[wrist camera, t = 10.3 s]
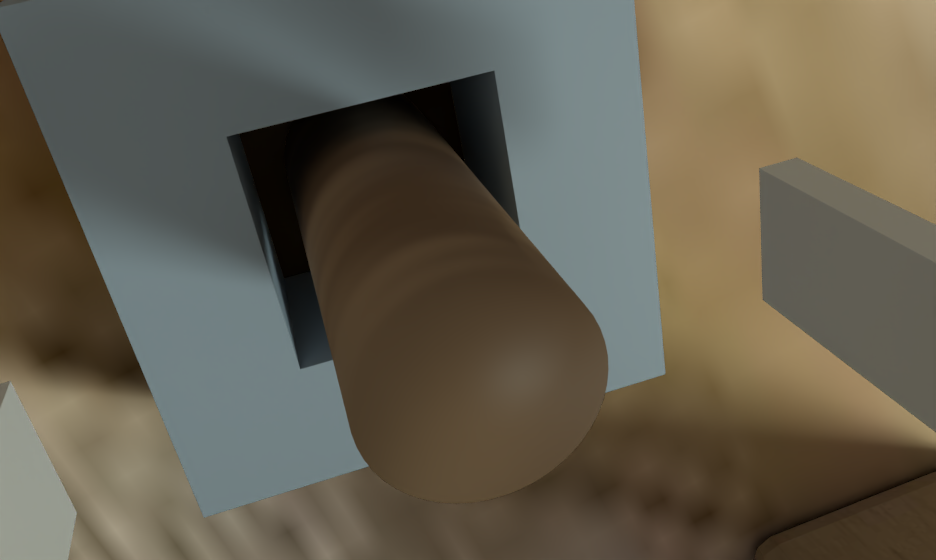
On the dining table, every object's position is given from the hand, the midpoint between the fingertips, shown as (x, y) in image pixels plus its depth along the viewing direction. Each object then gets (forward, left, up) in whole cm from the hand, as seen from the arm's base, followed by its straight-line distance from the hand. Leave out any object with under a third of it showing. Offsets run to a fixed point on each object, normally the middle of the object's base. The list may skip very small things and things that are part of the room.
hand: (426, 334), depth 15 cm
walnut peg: (0, 0, -9) cm, 10 cm away
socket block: (0, 0, -9) cm, 10 cm away
